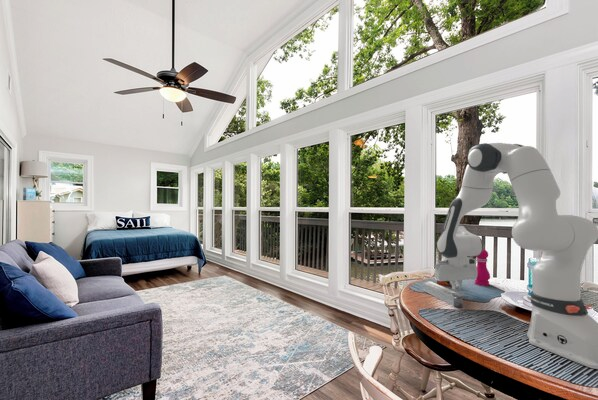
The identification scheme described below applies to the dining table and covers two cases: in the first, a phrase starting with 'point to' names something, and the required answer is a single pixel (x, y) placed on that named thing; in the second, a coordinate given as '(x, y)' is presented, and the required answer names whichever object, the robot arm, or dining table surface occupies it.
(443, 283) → the canned food
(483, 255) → the pepper mill
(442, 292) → the tongs fixed handle
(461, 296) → the hinged handle
